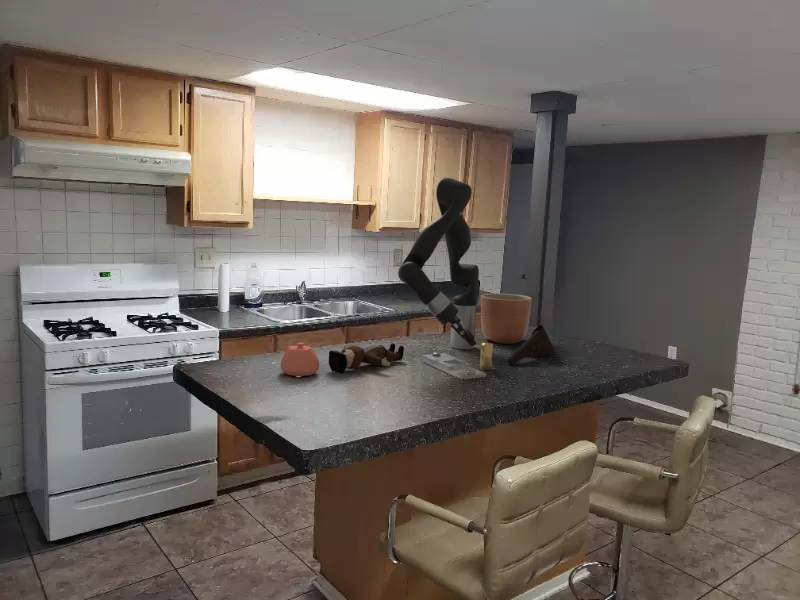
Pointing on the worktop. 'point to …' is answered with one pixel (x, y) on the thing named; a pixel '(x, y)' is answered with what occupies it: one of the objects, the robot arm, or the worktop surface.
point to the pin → (486, 356)
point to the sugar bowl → (299, 360)
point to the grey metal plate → (452, 365)
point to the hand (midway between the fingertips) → (473, 342)
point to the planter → (505, 317)
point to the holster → (534, 347)
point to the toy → (363, 357)
